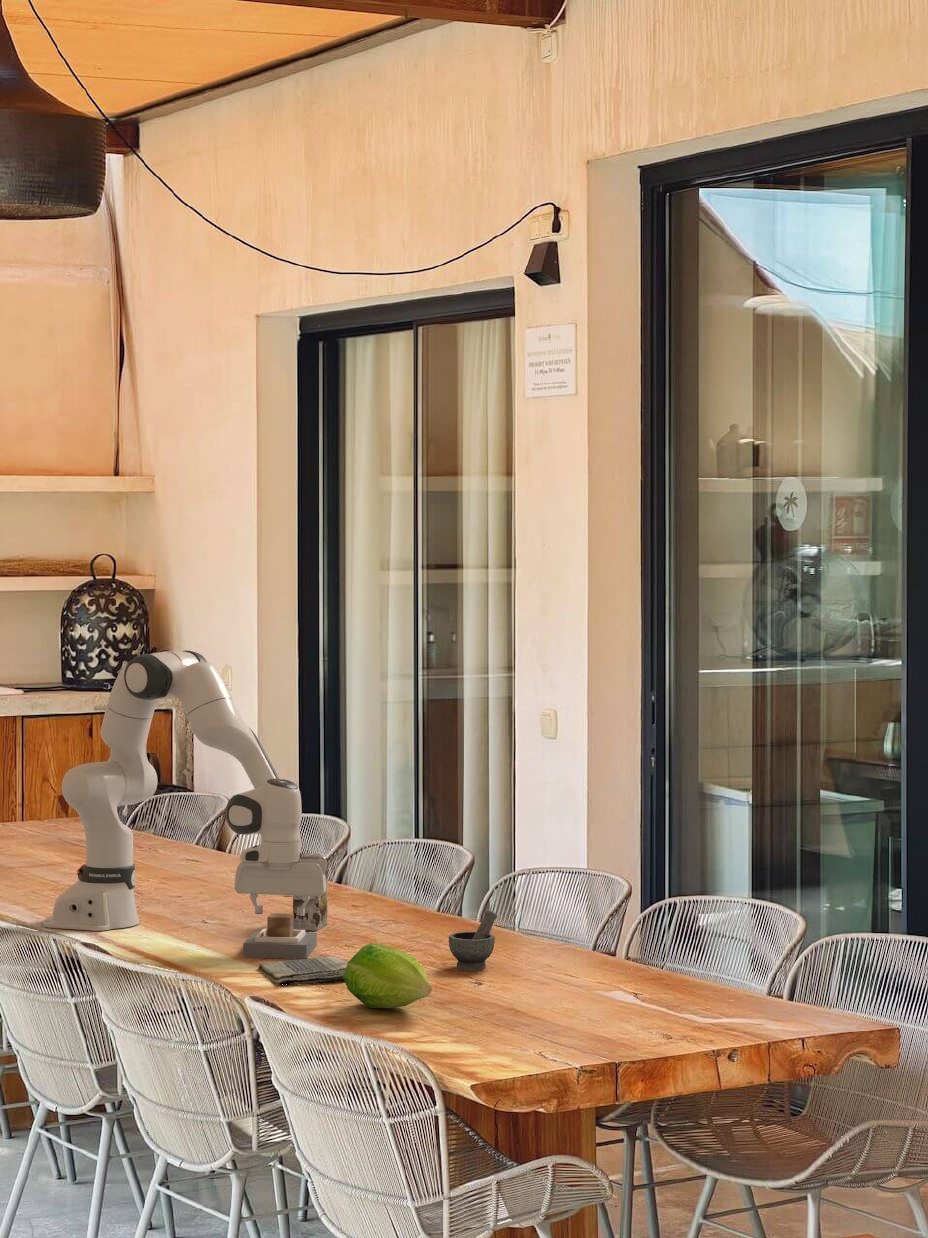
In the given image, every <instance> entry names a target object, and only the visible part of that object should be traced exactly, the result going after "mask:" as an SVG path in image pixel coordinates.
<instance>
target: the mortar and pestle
mask: <svg viewBox="0 0 928 1238" xmlns="http://www.w3.org/2000/svg"><path fill="white" fill-rule="evenodd" d="M497 918H498V914H497V913H495V912H494V911H492V910H488V909H487V910H484V917H483V919H482V920H481V922H480V924H479V926H478V927H477V929H476V931H461V932H460V931H459V932H453V933H451V934H449V935H448V946H449V950H450V952H451V954H452V956H453V957H454V958H455V959H456V960H457V963H456V969H458V970H460V971H466V972H478V971H483V970H485V969H487V964H486V961H487V959H489V958H490V956H491V955H492V953H493V951H494V948H495V943H496V942H495V940H496V939H495V935H493V934H492V933H491V932H492V928H493V925H494V922H495V920H496V919H497Z"/></svg>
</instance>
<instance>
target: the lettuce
mask: <svg viewBox="0 0 928 1238" xmlns="http://www.w3.org/2000/svg"><path fill="white" fill-rule="evenodd" d="M344 980H345V981H344V982H345V986H346V989H347V990H348V991H349V992H350V993H351V994H352V995H353V996H354V997H355V998H356V999H357V1000H359V1001H360V1002H361V1003H362V1004H363V1005H364V1006H366V1007H367V1008H368V1009H395V1008H401V1007H406V1006H409V1005H411V1004H413V1003H415V1002H417V1001H418V1000H422V999H424V998H427V997H429V996H430V995H431V993H432V990H433V986H432V983H431V982H430V980H429V978H428V975H427V972H426V971H425V969H424V967H422V965H421V964H420V962H419V961H418V960H417V958H416V957H414V956H413V955H410V954H408V953H406V952H404V951H401V950H400V949H398V948H396V947H391V946H390V947H389V946H385V945H383V944H380V943H374V942H372V943H371V942H370V943H368V944H365V945H363V946H362V947H361V948H360V949H359V950H358V951H357V952H356V953H355V954H354V955H353V956H352V958H351V959H349V961H348V962H347V967H346V971H345V974H344Z"/></svg>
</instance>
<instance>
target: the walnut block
mask: <svg viewBox="0 0 928 1238" xmlns="http://www.w3.org/2000/svg"><path fill="white" fill-rule="evenodd" d="M293 916H294V914H293V913H277V912H275V913H274V912H272V913H270V914H269V915H268V916H267V919H266V920H267V921H266V922H267V923H266V929H267V937H293V930H294V929H293Z"/></svg>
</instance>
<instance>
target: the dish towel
mask: <svg viewBox="0 0 928 1238" xmlns="http://www.w3.org/2000/svg"><path fill="white" fill-rule="evenodd" d="M347 963H348V962H347V961H345V960H343V959H340V958H338V957H336V956H318V957H311V958H307V959H297V958H296V959H291V960H290V959H288V960H283V961H273V962H272V961H270V962H264V963H263V962H262V963H259V964H258V965H259V966H258V970H259V971H260V972H261V973H262V974H263V973H264V974H265V975H266V976H265V975H264V974H263V975H264V976H265V977H266V978H267V979H268V978H269V979H270V980H269V979H268V980H269V981H271V982H272V983H273V984H274V985H276V986H277V987H281V986H280V985H282V984H283V985H284V984H287V985H286V986H299V985H298V984H309V985H314V984H313V983H315V984H317V983H318V984H321V985H323V984H324V983H325V984H337V982H339V983H342V982H341V981H343V982H345V980H344V974H345V971H346V967H347ZM283 985H282V986H283Z"/></svg>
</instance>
